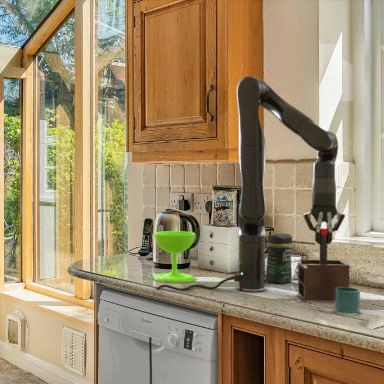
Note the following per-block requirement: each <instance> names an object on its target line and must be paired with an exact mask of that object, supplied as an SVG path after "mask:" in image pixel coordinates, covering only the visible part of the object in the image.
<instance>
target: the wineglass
mask: <svg viewBox="0 0 384 384" xmlns="http://www.w3.org/2000/svg"><path fill="white" fill-rule="evenodd" d="M153 234H154V239H155V242H156V244H157V246H158V247H159V248H160V249H161V250H163V251H164V252H166V253H168V254H171V270H170V271H169V272H163V273H158V274H156V275H155V276H154V277H153V279H154V280H155V281H158V282H163V283H172V284H173V283H175V284H178V283H179V284H180V283H189V282H194V281H195V280H196V279H195V276H193V275H192V274H189V273H183V272H179V270H178V254H182V253H184V252H186V251H187V250H189V249H190V248H191V246H192V245H193V244H194V241H195V237H196V233H195V232H192V231H184V230H183V231H181V230H166V231H163V230H162V231H156V232H154V233H153Z"/></svg>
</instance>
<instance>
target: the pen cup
mask: <svg viewBox="0 0 384 384" xmlns="http://www.w3.org/2000/svg"><path fill="white" fill-rule="evenodd" d="M334 311H335V312H337V313H341V314H352V315H353V314H354V315H355V314H359V313H360V312H361V290H360V289H359V288H356V287H350V286H349V287H338V288H335V301H334Z"/></svg>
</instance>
